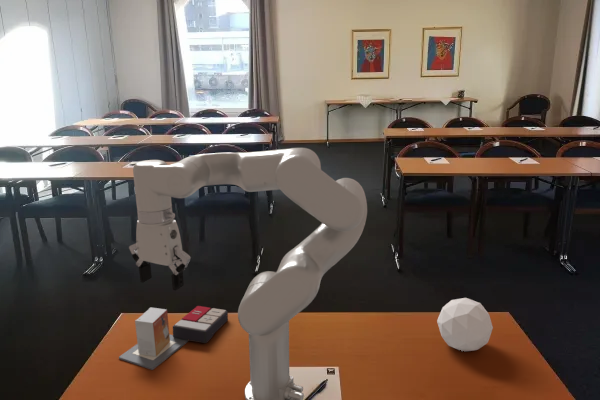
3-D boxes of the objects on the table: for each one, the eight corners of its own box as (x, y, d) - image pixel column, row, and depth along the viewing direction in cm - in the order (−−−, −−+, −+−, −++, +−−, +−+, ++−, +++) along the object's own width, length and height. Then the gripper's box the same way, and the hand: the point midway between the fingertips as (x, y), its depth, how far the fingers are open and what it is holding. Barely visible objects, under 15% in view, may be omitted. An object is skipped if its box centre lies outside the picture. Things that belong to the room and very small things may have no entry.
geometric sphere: (446, 359, 139) (421, 312, 142) (489, 336, 141) (464, 289, 144) (464, 364, 125) (436, 311, 128) (512, 338, 127) (483, 287, 130)
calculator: (228, 309, 150) (205, 329, 136) (228, 321, 151) (206, 343, 137) (197, 304, 153) (171, 324, 139) (197, 316, 154) (172, 337, 140)
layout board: (188, 341, 140) (188, 339, 139) (152, 370, 127) (152, 367, 126) (156, 332, 145) (156, 330, 144) (118, 358, 132) (118, 356, 131)
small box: (156, 357, 131) (152, 323, 128) (138, 354, 132) (134, 320, 129) (170, 341, 138) (167, 309, 136) (153, 338, 140) (150, 306, 137)
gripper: (196, 215, 107) (201, 284, 112) (138, 206, 115) (145, 271, 119) (174, 225, 101) (181, 298, 106) (114, 214, 108) (122, 283, 113)
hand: (162, 284), depth 113 cm, fingers open, 9 cm apart
